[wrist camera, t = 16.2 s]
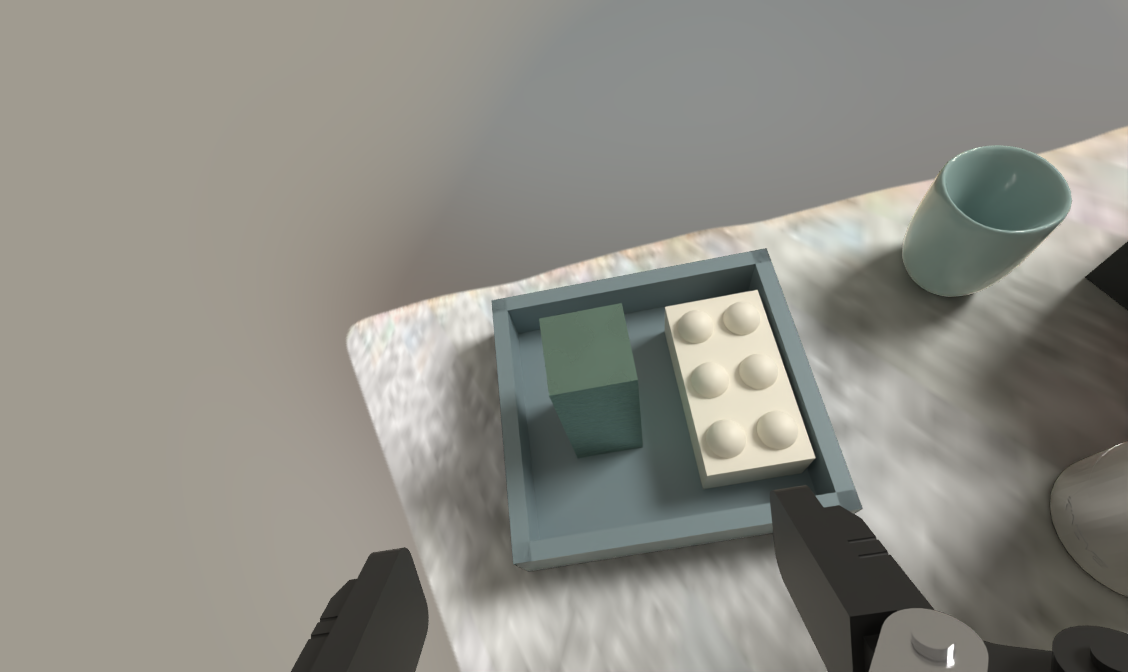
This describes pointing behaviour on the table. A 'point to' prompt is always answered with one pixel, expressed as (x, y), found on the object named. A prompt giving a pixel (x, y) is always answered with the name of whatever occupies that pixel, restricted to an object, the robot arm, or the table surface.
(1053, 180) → the cup
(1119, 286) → the cleaning product box
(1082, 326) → the table surface
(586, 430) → the tea tin
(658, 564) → the table surface
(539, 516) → the tray
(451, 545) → the table surface
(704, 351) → the egg carton
